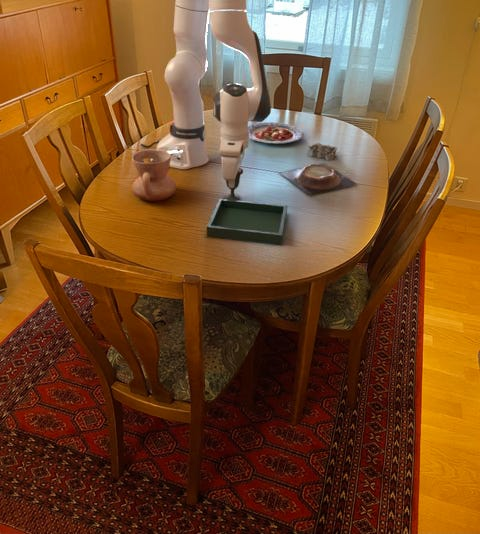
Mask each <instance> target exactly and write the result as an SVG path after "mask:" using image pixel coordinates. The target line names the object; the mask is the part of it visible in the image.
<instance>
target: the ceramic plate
mask: <svg viewBox="0 0 480 534" xmlns="http://www.w3.org/2000/svg"><path fill="white" fill-rule="evenodd" d="M248 128H249V139H250V140H253V141H256V142H260V143H265V144H276V145H277V144H278V145H280V144H290V143H294V142H296V141H299V140H300V139H301V138H302V137H303V134H304V133H303V131H302V130H301V129H300V128H298V127H296V126H295V125H291V124H289V123H283V122H275V121H273V122H272V121H271V122H270V121H266V122H265V121H263V122H255V123H253V124H250V125H248Z"/></svg>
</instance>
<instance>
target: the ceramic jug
mask: <svg viewBox="0 0 480 534" xmlns="http://www.w3.org/2000/svg"><path fill="white" fill-rule="evenodd" d="M145 159H150V162H145V161H144V160H145ZM151 159H153V160H152V161H151ZM170 160H171V155H170V153H169V152H167V151H165V150H161V149H159V150H156V148H146V149H142V150H139V151H137V152H135V153H134V154H133V155H132V157H131V161H132V163H133V166H134V168H135V170H136V172H137V174H138V175H139V177H138V178H137V179H135V181H134V182H133V183H132V186H131V187H132V188H131V190H132V193H133V194H134V195H135V196H136V197H137V198H138V199H141V200H144V201H148V202H157V201H158V202H159V201H163V200H167V199H168V198H170V197H172V196H173V195H174V194H175V193H176V190H177V184H176V182H175V180H174V179H173V178H172V177H171V176H169V175H167V174H168V172H169V168H170V167H169V166H170Z"/></svg>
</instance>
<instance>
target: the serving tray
mask: <svg viewBox="0 0 480 534" xmlns="http://www.w3.org/2000/svg"><path fill="white" fill-rule="evenodd" d="M287 214H288V205H284V204H277V203H276V204H274V203H266V202H255V201H249V200H248V201H247V200H229V199H225V198H219V199H218V201H217V203H216V205H215V207H214V210H213V212H212V214H211V216H210V219H209V221H208V223H207V225H206V237H209V238H217V239H226V240H233V241H243V242H253V243H260V244H270V245H277V246H281V245H282V241H283V236H284V230H285V225H286V221H287V220H286V219H287Z"/></svg>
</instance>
